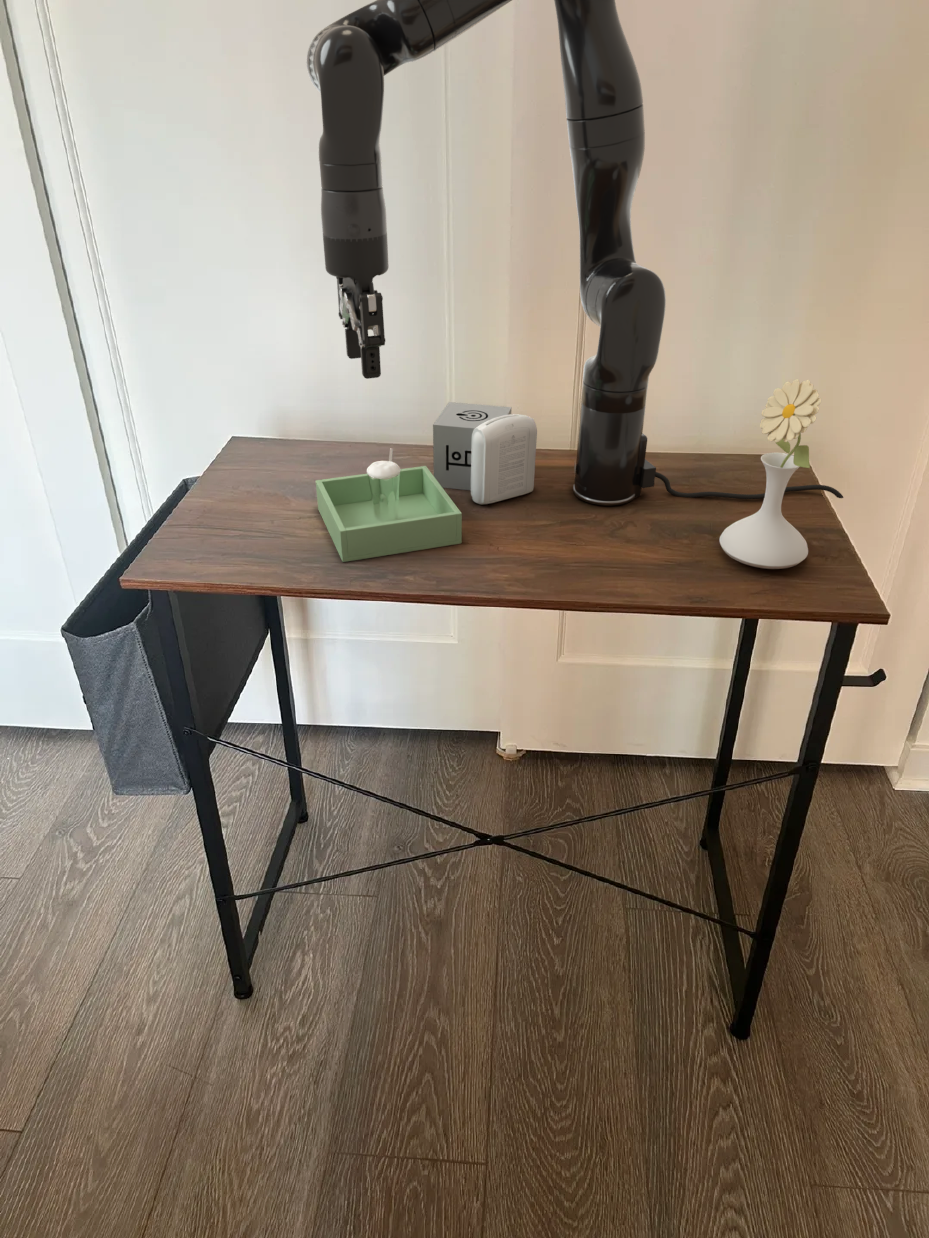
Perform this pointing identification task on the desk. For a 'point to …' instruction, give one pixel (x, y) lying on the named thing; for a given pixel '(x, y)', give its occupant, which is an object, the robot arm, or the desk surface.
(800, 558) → the flower in vase
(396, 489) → the milkshake
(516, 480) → the photo printer
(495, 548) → the desk surface
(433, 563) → the desk surface
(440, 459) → the icon cube
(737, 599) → the desk surface
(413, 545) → the tote
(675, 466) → the desk surface
